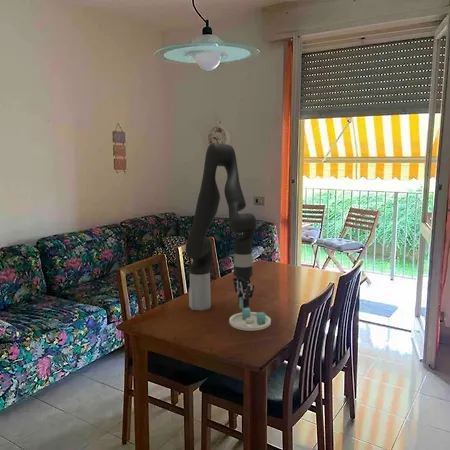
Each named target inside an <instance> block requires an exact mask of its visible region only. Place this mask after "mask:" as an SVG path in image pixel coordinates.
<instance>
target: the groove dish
mask: <svg viewBox="0 0 450 450" xmlns="http://www.w3.org/2000/svg"><path fill="white" fill-rule="evenodd" d="M257 313H258V312H255V311H250V317H248V318H246V320H244V319H242V312H238V313H235V314H233V315H231V316H230V317H229V320H228V323H229V325H230V326H231V327H233V328H234V329H237V330H241V331H248V332H249V331H250V332H254V331H261V330H264V329H267V328H269V327H270V326H271V325H272V323H271V322H272V319H271V317H270V316H268V315H267V314H265V324H263V325H259V324H257Z"/></svg>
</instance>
